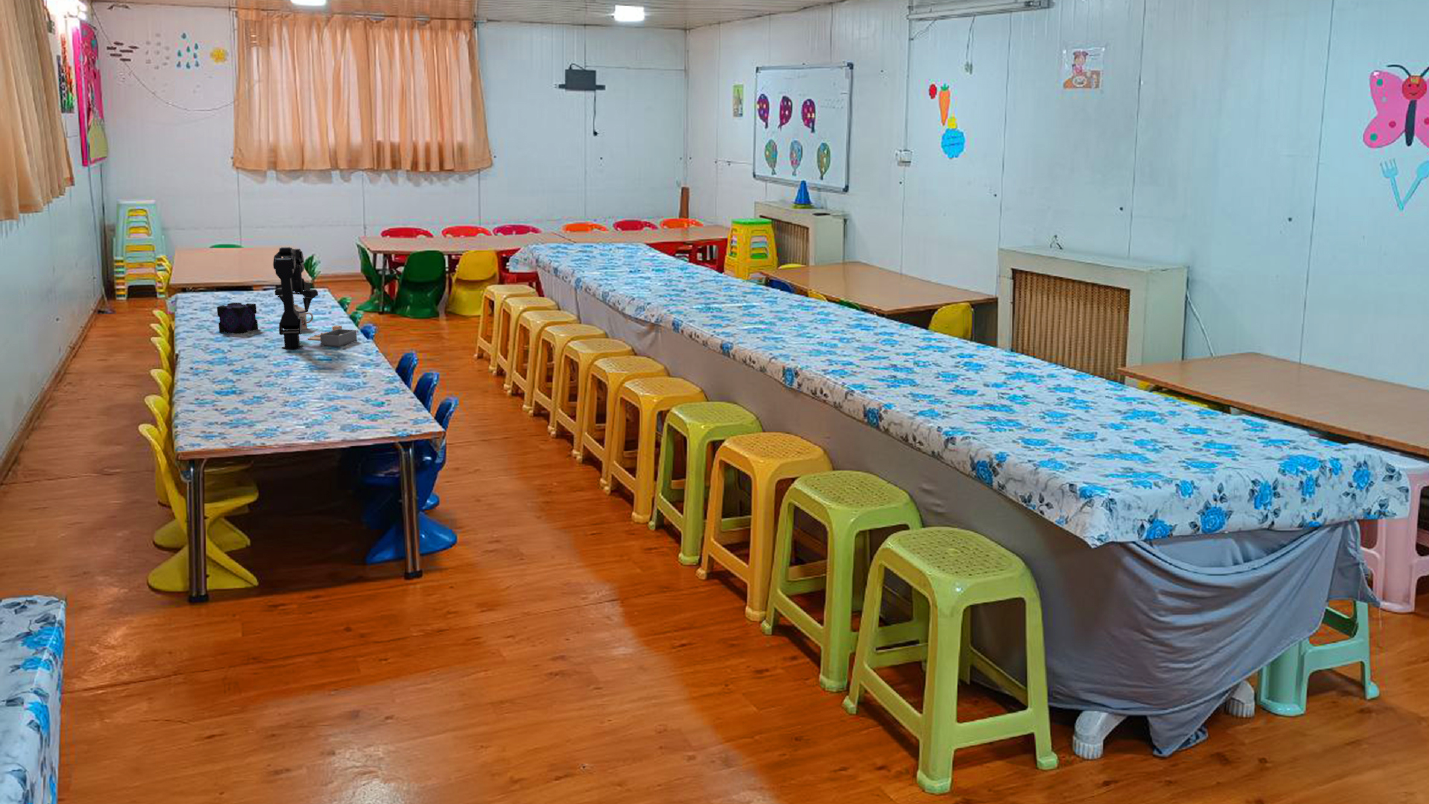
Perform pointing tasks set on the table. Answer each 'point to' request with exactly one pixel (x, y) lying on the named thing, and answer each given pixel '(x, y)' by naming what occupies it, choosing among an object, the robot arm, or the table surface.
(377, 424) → the table surface
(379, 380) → the table surface
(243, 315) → the energy cube
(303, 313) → the teacup with lid
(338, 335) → the tub
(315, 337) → the lid
